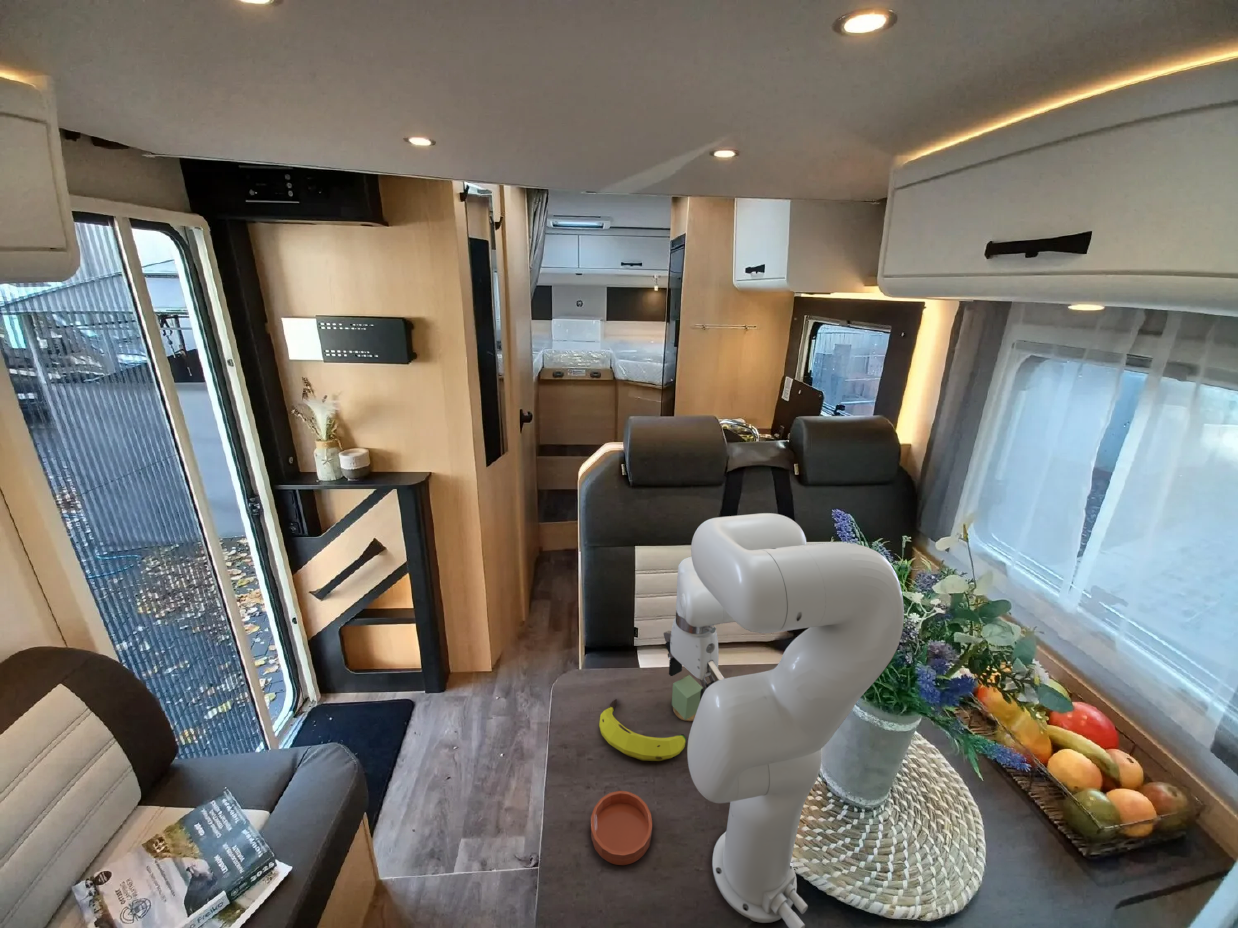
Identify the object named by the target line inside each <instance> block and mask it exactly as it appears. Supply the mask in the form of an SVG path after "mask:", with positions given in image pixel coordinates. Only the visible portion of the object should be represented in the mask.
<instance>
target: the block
mask: <svg viewBox="0 0 1238 928" xmlns="http://www.w3.org/2000/svg"><path fill="white" fill-rule="evenodd" d="M702 688H703V687H702V685H701V684H699V682H698V681H697V680H696V679H695V678H694V677H693V676H691V675H690V674H688V675H685V676H684V677H682V678H681V679H679V680H677V681H675V682H673V683H672V693H671V706H672V708H673V707H674V708H675V709H676V710H677V711H678V712H679V714H680V715H681V716H682V717H683V718H684V719H685V720H686V719H688V718H690V717H691V716H693V715H695V714H696V712H697V709H698V706H699V703H700V693H701V689H702Z"/></svg>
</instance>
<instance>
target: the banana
mask: <svg viewBox="0 0 1238 928" xmlns="http://www.w3.org/2000/svg"><path fill="white" fill-rule="evenodd" d="M617 703H618V700H617V698H616V699H614V700H612V701H611V702H610V704H609V706H608V708H606V709H604V710H603V711H602V712H601V713H600V714H599V715H600V717H599V723H598V724H599V725H598V727H599V730H600V735H601V736H602V737H603V738H604V740H605V741H606V742H607V743H608V744H609V745H610V746H611V747H613V748H614V749H616V750H617V751H619V752H621V753H622V754H623V755H626V756H628V757H631V758H634V759H637V760H640V761H647V762H648V761H650V762H661V761H666V760H669V759H672V758H673V757H676V756H678V755H680V753H681V752H682V751H683V750H684V749H685V747H686V743H687V737H686V736H685V734H684V733H681V734H679V735H674V736H669V737H654V736H647V735H643V734H641V733H636V732H634V731H632V730H631V729H628V728H627V727H625V726H624V725H623V724H622V723H620V721H618V720H617V719H616V717H615V716H614V715H613V712H615V709H616V706H617Z"/></svg>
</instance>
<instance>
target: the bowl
mask: <svg viewBox="0 0 1238 928" xmlns="http://www.w3.org/2000/svg"><path fill="white" fill-rule="evenodd" d="M652 819H653V818H652V813H651V811H650V809H649V807H648V804H647V803H646V802H645V801H644V800H643V799H642V798H641V797H640V796H639V795H637V794H635V793H633V792H631V791H626V790H617V791H612V792H609V793H607V794H606V795H604V796H603V797H601V798H600V799H599V800H598V801H597V803H596V804H595V805H594V807H593V810H592V813H591V816H590V838H591V841H592V845H593V847H594V849H595V851H596V852H597V854H598V855H599V856H600V857H601V859H603V860H604V861H606V862H608V863H609V864H612V865H617V866H626V865H631V864H634V863H635V862H637V861H638V860H640V859H641V858H642V857H643V856H644V855H645V854H646V853H647V851H648V849H649V848H650V845H651V841H652V837H653V820H652Z"/></svg>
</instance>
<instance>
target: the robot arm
mask: <svg viewBox="0 0 1238 928" xmlns="http://www.w3.org/2000/svg"><path fill="white" fill-rule="evenodd" d="M690 547H691V548H690V556H688V557H685V558H683V559H682V560H681V561H680V562H679V564H678V566H677V581H676V603H675V616H674V619H673V622H672V624H671V625H672V626H671V630H667V631H665V632H663V638H664V641H665V644H664V645H665V647H666V650H667V652H668V653H667V658H668V659H669V661H668V675H669V676H670V677H673V676H675V675H678V674H679V673H681V672H682V671H683V668H685V669H686V670H687V671H688V672H689V673H690V674H692V675H693V676H694V678H696V679H698V680H699V682H700V686H702V687H703V688H702V689H701V693H700V703H699V706H698V709H697V712H696V715H695V718H694V721H692V723H691V726H690V730H689V734H688V738H687V739H688V740H687V748H686V749H687V751H686V754H687V764H688V765H687V766H688V772H689V774H690V778H691V780H692V783H693V784H694V786H695V788H696V790H697V791H698V792H699V793H700V795H701V796H703V798H705V799H706V800H707V801H709V802H710V803H714V804H727V803H729V810H728V817H727V824H726V830H725V832H723V833H722V834H721V835H720V836H719V838H718V839H717V840H716V843H715V845H714V848H713V853H712V858H711V859H712V861H711V866H712V873H713V874H712V875H713V878H714V882H715V884H716V886H717V888H718V890H719V891H720V894H721V895H722V897H723V898H724V900H725V901H726V903H728V905H729V906H730V907H732V909H734V910H735V911H736V912H737V913H739V914H741V915H742V916H744V917H745V918H747V919H750V921H753V922H757V923H761V924H767V923H773V922H777V921H779V920H781V919H782V920H783V922H784V923H785V925H786V926H787V928H805V927H806V924H805V923H804V922H803V920H802V919H801V918H800V917H799V916H798V914H797V913H796V912H795V911H794V910H793V909H792V907H793V905H794V906H795V908H796V909H797V911H798V912H799V913H800V914H801V915H804V914H805V913H806V911H807V910H808V907H809V905H808V903H806V901H805V900H804V899H803V898H802V896H800V895H799V894H798V893H797V888H798V883H797V874H796V869H795V867H794V866H793V867H794V868H793V867H792V866H790V863H791V861H792V858H793V853H794V850H795V843H796V839H797V835H798V831H799V825H800V822H801V818H802V813H803V809H804V806H805V803H806V800H807V798H808V796H809V795H810V793H811V791H812V790H813V788H814V786H815V784H816V782H817V780H818V777H819V774H820V771H821V766H822V749H823V748H824V747H825V746H826V744H827V743H829V742H830V740H831V739H832V737H833V736H834V735H835V733H836V732H837V731H838V729H839V728H840V727H841V725H842V724H843V723H844V721H845V720H846V719H847V717H848V716H849V715H850V714H851V712H852V711H853V710H854V707H855V705H856V704H857V703H858V701H859V700H860V699H861V698H862V696H863V695H864V694H865V693H866V692H867V691H868V690H869V689H870V688H871V686H872V685H873V684H874V683H875V682H876V681H877V680H878V678H879V677H880V676H881V675H882V673H883V672H884V671H885V669H886V668H887V667H888V665H889V664H890V663H891V661H892V659H893V658H894V655H895V654H896V651H897V649H898V647H899V644H900V642H901V639H902V635H903V630H904V620H905V607H904V597H903V591H902V587H901V583H900V580H899V578H898V574H897V573H896V571H895V569H894V567H893V566H892V564H891V563H890V562H889V561H888V560H887V558H886V557H885V556H884V555H882V554H881V553H879V552H878V551H877V550H875V549H873V548H870V547H868V546H866V545H861V544H857V543H850V542H820V543H810V544H809V543H807V537H806V535H805V532H804V531H803V529H802V527H801V526H800V524H798V523H797V522H796V521H794V520H793V519H792V518H790V517H788V516H785V515H783V514H779V513H774V512H773V513H772V512H771V513H770V512H763V513H762V512H761V513H751V514H741V515H740V514H739V515H731V516H730V515H729V516H719V517H712V518H709V519H707V520H705V521H703V522H702V523H701V524H700V525H699V526H698V527H697V529H696V530H695V531H694V534H693V536H692V540H691V545H690ZM731 623H736V624H737V625H738V626H739V627H741V628H742V629H743V630H746V631H748V632H752V633H756V634H773V633H782V632H787V631H793V630H802V629H805V630H804V631H802V632H801V633H800V634H798V635H797V637H795V638H794V639H793V640H792V641H791V642H790V644H789V645H788V646H787V647H786V648H785V650H784V652H783V654H782V655H781V658H780V660H779V662H778V664H777V665H776V666H775V667H774V668H771V669H769V670H766V671H760V672H756V673H755V672H754V673H749V674H742V675H738V676H731V677H730V676H729V677H724V676H723V674H722V673H721V671H720V670H719V660H720V659H719V655H720V654H719V653H720V651H719V638H718V632H717V628H716V625H717V626H718V625H723V624H731ZM706 678H708V679H709V683H707V682H708V681H707V680H706ZM794 869H795V870H794ZM718 872H719V873H718ZM745 909H746V910H745Z"/></svg>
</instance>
